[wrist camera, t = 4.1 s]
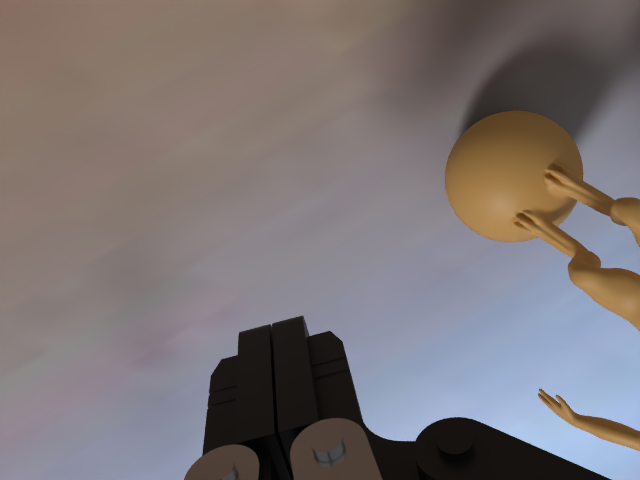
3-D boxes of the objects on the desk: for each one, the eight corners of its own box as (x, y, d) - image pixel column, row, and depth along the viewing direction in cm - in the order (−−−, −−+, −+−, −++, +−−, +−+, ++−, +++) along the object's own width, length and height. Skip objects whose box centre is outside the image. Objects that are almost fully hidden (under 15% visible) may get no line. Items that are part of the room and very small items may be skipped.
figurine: (511, 12, 17) (944, 52, 7) (652, 103, 19) (1188, 256, 8) (375, 238, 20) (524, 538, 9) (510, 301, 22) (773, 618, 11)
